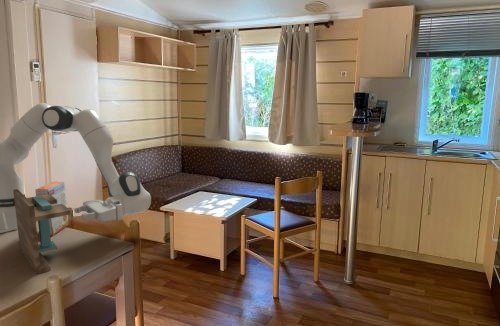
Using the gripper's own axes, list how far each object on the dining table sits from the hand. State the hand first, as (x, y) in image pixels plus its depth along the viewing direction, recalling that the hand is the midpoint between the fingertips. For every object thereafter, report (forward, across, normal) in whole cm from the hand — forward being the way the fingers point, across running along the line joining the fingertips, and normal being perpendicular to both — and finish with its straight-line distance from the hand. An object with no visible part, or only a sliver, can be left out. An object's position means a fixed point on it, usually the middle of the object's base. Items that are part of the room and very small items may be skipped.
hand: (78, 213), depth 152 cm
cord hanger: (+12, 0, +11) cm, 17 cm away
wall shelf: (+12, 0, +14) cm, 19 cm away
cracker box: (+3, -27, +14) cm, 31 cm away
